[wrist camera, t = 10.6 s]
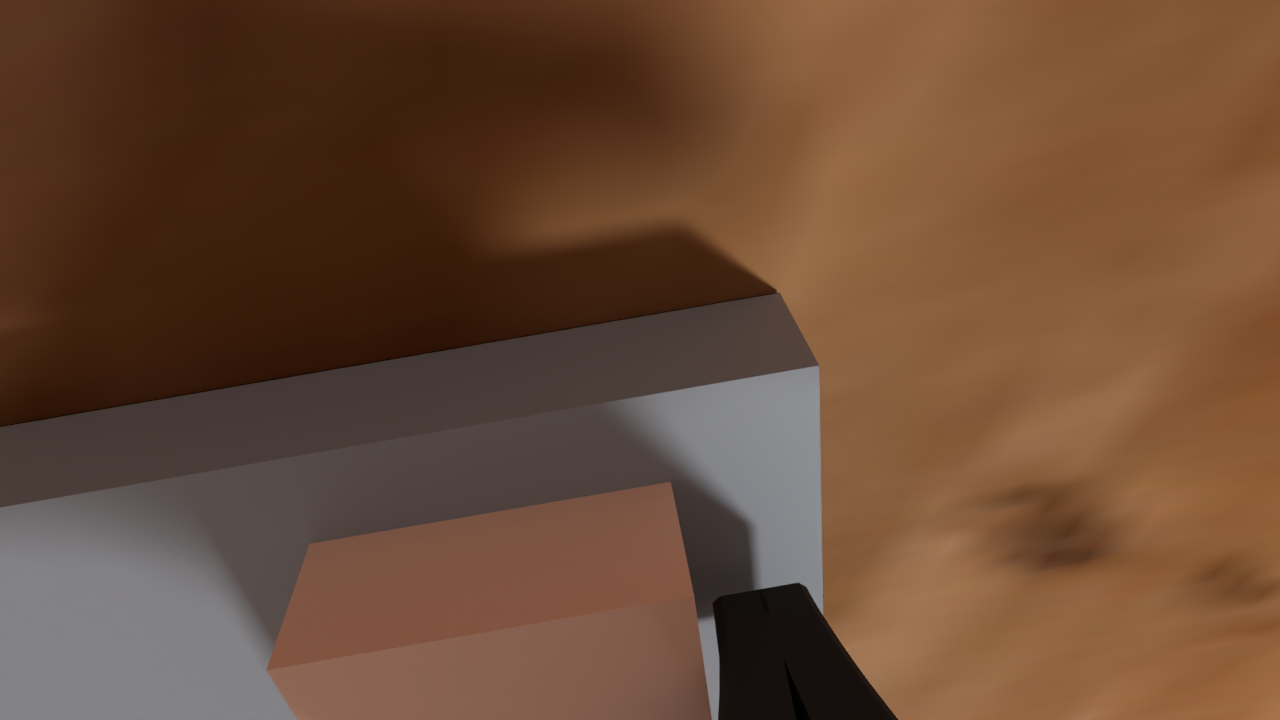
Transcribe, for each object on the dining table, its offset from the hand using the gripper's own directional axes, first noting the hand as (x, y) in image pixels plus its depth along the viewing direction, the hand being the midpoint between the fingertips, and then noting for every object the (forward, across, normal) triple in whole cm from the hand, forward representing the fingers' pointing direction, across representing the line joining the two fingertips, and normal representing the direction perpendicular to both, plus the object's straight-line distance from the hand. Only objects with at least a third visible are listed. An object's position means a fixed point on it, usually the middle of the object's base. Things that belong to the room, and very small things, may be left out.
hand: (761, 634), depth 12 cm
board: (+3, +5, +4) cm, 7 cm away
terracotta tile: (+1, +4, 0) cm, 4 cm away
